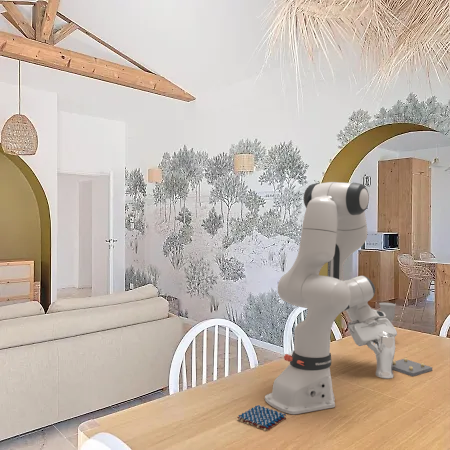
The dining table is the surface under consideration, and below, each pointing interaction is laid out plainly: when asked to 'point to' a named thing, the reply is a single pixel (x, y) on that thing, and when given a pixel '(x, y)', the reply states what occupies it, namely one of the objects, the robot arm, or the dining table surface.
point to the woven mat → (261, 417)
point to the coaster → (410, 367)
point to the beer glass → (385, 355)
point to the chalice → (388, 310)
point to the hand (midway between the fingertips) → (386, 351)
